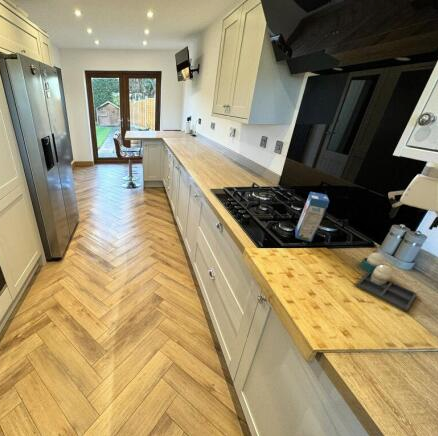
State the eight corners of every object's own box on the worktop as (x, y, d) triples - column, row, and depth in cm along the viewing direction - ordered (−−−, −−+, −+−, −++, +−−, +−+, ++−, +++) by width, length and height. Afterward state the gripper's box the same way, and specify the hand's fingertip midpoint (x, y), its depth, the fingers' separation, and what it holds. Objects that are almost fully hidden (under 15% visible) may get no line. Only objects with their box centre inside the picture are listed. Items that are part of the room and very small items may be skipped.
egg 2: (385, 283, 81) (396, 267, 78) (382, 288, 79) (393, 271, 76) (370, 276, 84) (380, 261, 81) (366, 280, 82) (376, 264, 79)
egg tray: (414, 297, 77) (417, 293, 76) (404, 313, 70) (407, 309, 70) (367, 275, 86) (369, 271, 85) (354, 287, 80) (356, 283, 79)
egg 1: (378, 270, 88) (388, 255, 85) (375, 273, 86) (384, 258, 83) (364, 264, 91) (373, 249, 88) (361, 267, 89) (370, 252, 86)
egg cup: (381, 271, 89) (386, 264, 87) (376, 277, 85) (381, 269, 84) (361, 263, 93) (366, 255, 91) (356, 268, 90) (360, 260, 88)
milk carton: (311, 242, 105) (329, 201, 96) (295, 238, 107) (311, 198, 98) (309, 233, 113) (326, 194, 104) (295, 229, 115) (310, 191, 106)
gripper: (485, 179, 68) (449, 230, 76) (404, 166, 81) (380, 211, 89) (483, 183, 64) (446, 236, 72) (399, 168, 77) (374, 215, 85)
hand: (410, 222), depth 80 cm, fingers open, 9 cm apart
